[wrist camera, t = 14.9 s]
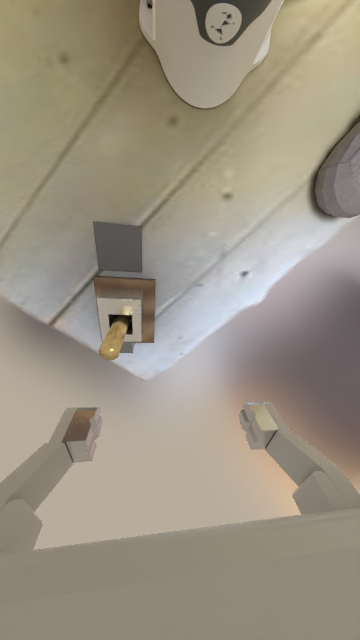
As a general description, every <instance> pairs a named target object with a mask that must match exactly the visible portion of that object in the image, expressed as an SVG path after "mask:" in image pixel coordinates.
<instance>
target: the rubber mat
mask: <svg viewBox="0 0 360 640" xmlns="http://www.w3.org/2000/svg"><path fill="white" fill-rule="evenodd" d="M93 224H94V232H95V241H96V249H97V258H98V266H99V270H112V271H128V272H142V243H141V226H131V225H120V224H110V223H100V222H93Z"/></svg>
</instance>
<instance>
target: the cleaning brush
mask: <svg viewBox="0 0 360 640" xmlns="http://www.w3.org/2000/svg"><path fill="white" fill-rule="evenodd" d="M314 191H315V195H316V200H317V205H318V206H319V207H320V208H321V209H322V210H323V211H324V212H325V213H326V214H331V215H333V216H335V217H345V218H351V217H354V216H357V215H359V214H360V121H359V122H358V123H357V124H356V125H355V126H354V127H353V128H352V129H351V130H350V132H349V133H348V134H347V135H346V136H345V137H344V138H343V139H342V140H341V141H340V142H339V143H338V144H337V146H336V147H335V148H334V150H333V151H332V152H331V154H330V155H329V157H328V158H327V160H326V161H325V162H324V164H323V165H322V167H321V168H320V170H319V171H318V176H317V181H316V186H315V190H314Z"/></svg>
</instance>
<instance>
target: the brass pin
mask: <svg viewBox="0 0 360 640" xmlns="http://www.w3.org/2000/svg"><path fill="white" fill-rule="evenodd" d="M131 317H132V315H117V316H116V318H115V320H114V322H113V324H112V326H111V328H110V329H109V331H108V333H107V335H106V337H105V339H104V341H103V343H102V345H101V347H100V349H99V355H100V356H101V357H102V358H103V359H105V360H114V359H116V358H117V357H118V355H119V352H120V349H121V346H122V344H123V341H124V338H125V335H126V332H127V329H128V326H129V323H130V320H131Z"/></svg>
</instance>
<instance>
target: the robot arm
mask: <svg viewBox="0 0 360 640" xmlns="http://www.w3.org/2000/svg"><path fill="white" fill-rule="evenodd" d="M283 2H284V0H140V8H139V25H140V29H141V31H142V33H143V35H144V37H145V38H146V39H147V41H148V42H149V43H150V45H151V46H152V47H153V48H154V50H155V51H156V53H157V55H158V57H159V60H160V62H161V65H162V68H163V70H164V73H165V75H166V77H167V79H168V81H169V83H170V85H171V86H172V88H173V89H174V90H175V92H176V93H177V94H178V95H179V96H180V97H181V98H182V99H183V100H184V101H186V102H187V103H189V104H190V105H192V106H195V107H198V108H213V107H216V106H218V105H220V104H222V103H224V102H225V101H226V100H228V99H229V98H230V97H231V96H232V95H233V94H234V93H235V91H236V90H237V89H238V87H239V86H240V84H241V83H242V81H243V79H244V78H245V76H246V75H247V74H248V73H249V72H250V71H252V70H253V69H255V68H256V67H257V66H259V65H260V64H261V63H262V62H263V60H264V59H265V57H266V55H267V52H268V50H269V45H270V33H271V27H272V25H273V23H274V21H275V19H276V16H277V14H278V12H279V10H280V8H281V6H282V4H283ZM148 4H151V5H152V8H151V9H149V8H148V7H147V5H148ZM243 408H244V409H243V410H242V411H241V412H240V415H239V417H240V424H241V426H242V429H244V430H245V431H246V438H247V441H248V443H249V446H250V448H251V450H252V449H265V450H266V451H267V452H268V453H269V455H270V456H271V457H272V458H273V459H274V460H275V461H276V462H277V463H278V464H279V466H280V467H281V468H282V469H283V470H284V471H285V472H286V473H287V474H288V475H289V476H290V478H291V479H292V480H293V481H294V482H295V483H296V484H297V485H298V486H299V487H298V488H297V489H296V490H295V491H294V492H293V495H292V496H293V498H294V500H295V502H296V504H297V506H298V508H299V511H300V513H301V515H295V516H288V517H280V518H273V519H265V520H257V521H249V522H243V523H234V524H227V525H219V526H212V527H204V528H197V529H189V530H181V531H174V532H166V533H159V534H151V535H143V536H136V537H128V538H121V539H113V540H106V541H98V542H90V543H83V544H76V545H68V546H61V547H53V548H45V549H37V550H33V548H34V546H35V543H36V541H37V538H38V535H39V533H40V530H41V527H42V521H41V520H40V519H39V517H38V516H37V515H36V514H35V513H34V512H35V511H36V509H37V508H38V507H39V506H40V504H41V503H42V502H43V501H44V499H45V498H46V497H47V496H48V494H49V493H50V492H51V491H52V490H53V488H54V487H55V486H56V484H57V483H58V482H59V481H60V480H61V478H62V477H63V476H64V474H65V473H66V472H67V471H68V469H69V468H70V467H71V466H72V465H73V463H75V462H84V461H92V459H93V455H94V452H95V448H96V442H95V440H96V439H97V437H98V436H99V434H100V430H101V424H102V419H101V416H100V415H99V413H100V409H99V407H91V408H67V409H66V410H65V412H64V413H63V415H62V417H61V419H60V421H59V423H58V425H57V427H56V429H55V431H54V433H53V435H52V437H51V439H50V441H49V443H46V444H44V445H43V446H42V447H40V448H39V449H38V450H37V451H36V452H35V453H34V454H32V455H31V456H30V457H29V458H28V459H27V460H26V461H24V462H23V463H22V464H21V465H20V466H19V467H18V468H17V469H16V470H14V471H13V472H12V473H11V474H10V475H9V476H8V477H6V478H5V479H4V480H3V481H2V482H1V483H0V640H360V494H359V493H358V492H357V490H356V489H355V488H354V486H353V485H352V484H351V482H350V481H349V479H348V478H347V477H346V475H345V474H344V473H343V471H342V470H341V469H340V468H339V467H338V466H337V465H335V464H334V463H333V462H331V461H330V460H329V459H328V458H326V457H325V456H324V455H323V454H321V453H320V452H319V451H318V450H316V449H315V448H314V447H312V446H311V445H310V444H309V443H307V442H306V441H305V440H304V439H302V438H301V437H300V436H298V435H297V434H296V433H295V432H293V431H292V430H289V429H288V428H287V426H286V425H285V423H284V422H283V420H282V419H281V417H280V415H279V414H278V412H277V411H276V409H275V407H274V406H273V404H272V403H271V402H246V403H244V405H243Z"/></svg>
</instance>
